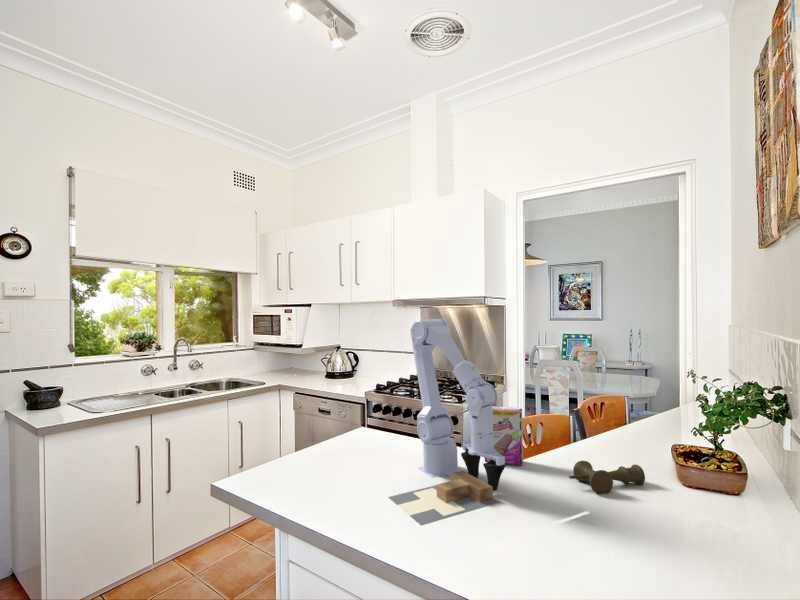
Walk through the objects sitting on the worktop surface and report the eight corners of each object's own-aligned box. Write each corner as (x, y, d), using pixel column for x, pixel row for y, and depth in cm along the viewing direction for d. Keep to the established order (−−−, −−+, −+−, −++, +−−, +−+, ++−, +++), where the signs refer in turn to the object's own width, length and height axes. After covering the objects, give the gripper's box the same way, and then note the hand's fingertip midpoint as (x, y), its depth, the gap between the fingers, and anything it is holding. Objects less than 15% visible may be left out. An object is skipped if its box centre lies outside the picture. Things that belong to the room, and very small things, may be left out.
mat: (460, 481, 115) (460, 479, 115) (500, 504, 101) (500, 501, 101) (388, 499, 104) (388, 497, 104) (421, 527, 90) (421, 525, 90)
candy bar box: (484, 463, 128) (483, 408, 128) (486, 457, 133) (485, 405, 133) (522, 466, 124) (521, 410, 125) (523, 461, 129) (522, 407, 130)
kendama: (653, 493, 106) (579, 496, 104) (628, 479, 116) (559, 482, 113) (653, 469, 107) (578, 471, 104) (627, 457, 116) (559, 459, 114)
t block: (463, 482, 113) (463, 470, 113) (493, 499, 102) (492, 486, 102) (428, 490, 108) (428, 479, 108) (455, 509, 97) (455, 496, 97)
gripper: (452, 427, 113) (454, 478, 113) (488, 441, 100) (489, 499, 100) (473, 423, 117) (475, 473, 116) (510, 437, 104) (512, 492, 103)
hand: (483, 485), depth 108 cm, fingers open, 7 cm apart
